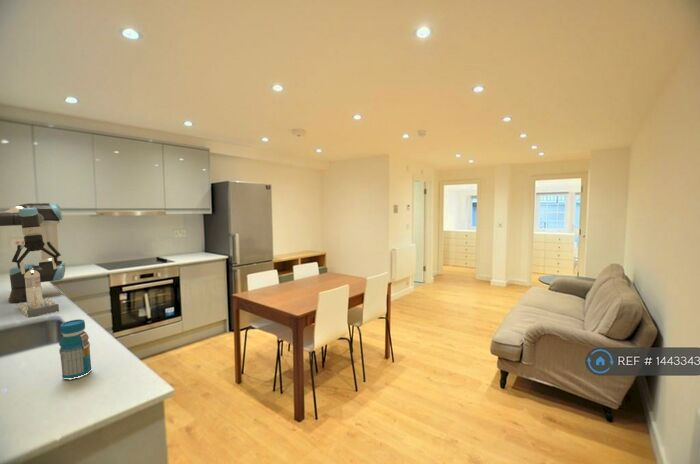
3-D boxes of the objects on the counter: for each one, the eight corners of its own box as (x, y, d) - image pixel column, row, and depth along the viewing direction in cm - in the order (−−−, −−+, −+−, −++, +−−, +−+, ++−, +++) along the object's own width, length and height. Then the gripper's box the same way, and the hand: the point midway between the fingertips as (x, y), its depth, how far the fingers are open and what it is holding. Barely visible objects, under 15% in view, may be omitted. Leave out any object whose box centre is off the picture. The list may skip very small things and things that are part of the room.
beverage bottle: (67, 383, 111) (61, 328, 109) (58, 377, 115) (53, 324, 113) (96, 372, 118) (91, 320, 116) (86, 366, 122) (82, 316, 121)
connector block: (27, 316, 178) (26, 310, 178) (58, 310, 188) (57, 303, 188) (28, 317, 177) (27, 310, 176) (59, 311, 187) (58, 304, 187)
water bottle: (33, 309, 190) (29, 268, 188) (24, 309, 191) (20, 268, 189) (46, 306, 197) (42, 266, 194) (37, 305, 198) (33, 266, 196)
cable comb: (18, 308, 192) (17, 302, 192) (47, 303, 203) (46, 297, 202) (28, 317, 177) (27, 310, 176) (59, 311, 187) (58, 304, 187)
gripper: (-1, 238, 171) (6, 276, 173) (59, 232, 184) (66, 267, 186) (4, 237, 178) (12, 274, 180) (63, 231, 190) (69, 266, 192)
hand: (39, 271), depth 183 cm, fingers open, 13 cm apart
